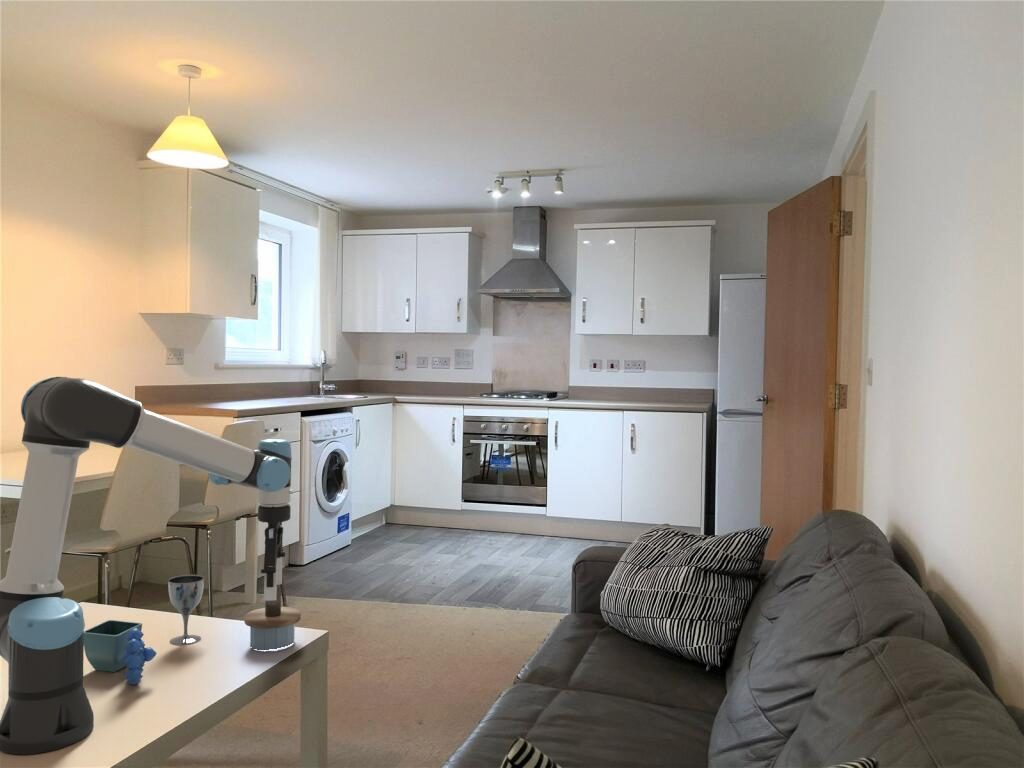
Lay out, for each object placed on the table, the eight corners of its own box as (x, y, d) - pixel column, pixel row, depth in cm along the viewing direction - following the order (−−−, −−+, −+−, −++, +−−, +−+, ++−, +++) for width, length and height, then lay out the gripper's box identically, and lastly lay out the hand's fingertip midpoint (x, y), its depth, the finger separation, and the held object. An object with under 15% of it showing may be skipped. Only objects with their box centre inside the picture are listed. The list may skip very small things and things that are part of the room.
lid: (297, 627, 185) (298, 597, 184) (239, 629, 183) (240, 598, 182) (303, 610, 197) (303, 581, 197) (249, 612, 195) (249, 583, 195)
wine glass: (197, 632, 198) (198, 572, 197) (207, 641, 191) (207, 580, 191) (164, 638, 193) (164, 577, 192) (172, 648, 186) (173, 585, 186)
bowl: (292, 650, 186) (292, 625, 186) (248, 652, 184) (248, 627, 184) (295, 636, 196) (296, 612, 196) (253, 638, 194) (253, 614, 194)
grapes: (155, 692, 162) (155, 633, 161) (118, 696, 159) (118, 637, 159) (157, 671, 172) (158, 616, 172) (123, 675, 170) (124, 619, 170)
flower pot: (116, 677, 169) (116, 635, 169) (80, 673, 171) (80, 632, 170) (143, 662, 177) (143, 622, 177) (108, 658, 179) (109, 619, 179)
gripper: (285, 513, 178) (284, 606, 178) (294, 495, 202) (293, 577, 203) (251, 513, 176) (250, 608, 177) (264, 495, 201) (263, 578, 201)
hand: (273, 592), depth 190 cm, fingers open, 13 cm apart
